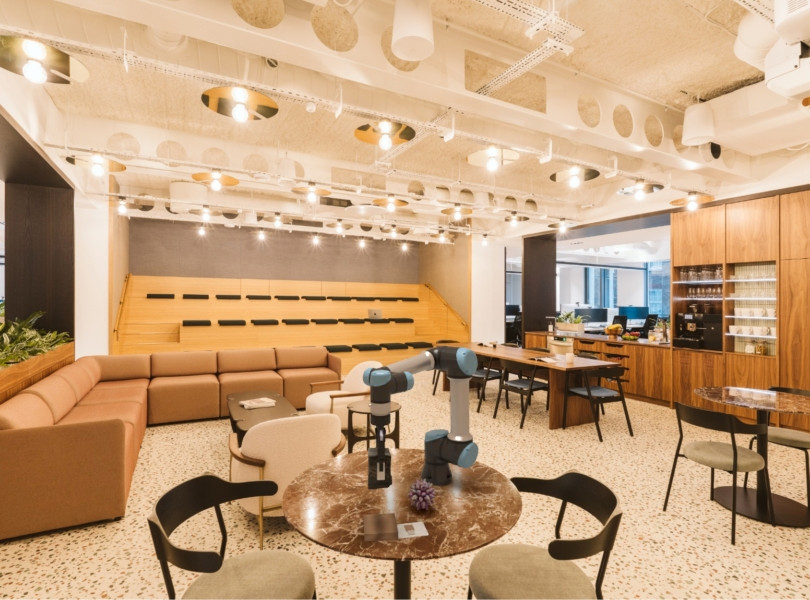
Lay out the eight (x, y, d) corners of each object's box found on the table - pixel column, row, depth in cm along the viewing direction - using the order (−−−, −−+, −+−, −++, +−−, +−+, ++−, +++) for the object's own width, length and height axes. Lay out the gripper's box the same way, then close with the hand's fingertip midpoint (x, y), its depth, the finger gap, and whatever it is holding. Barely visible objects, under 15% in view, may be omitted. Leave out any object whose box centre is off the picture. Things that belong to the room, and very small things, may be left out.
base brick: (394, 520, 159) (394, 512, 159) (398, 540, 146) (398, 532, 146) (363, 522, 158) (363, 514, 157) (364, 542, 145) (364, 534, 145)
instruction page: (422, 522, 158) (422, 521, 158) (428, 535, 149) (428, 534, 149) (391, 525, 155) (391, 524, 155) (396, 539, 147) (396, 538, 147)
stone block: (392, 489, 151) (391, 480, 156) (393, 454, 148) (392, 446, 153) (367, 490, 151) (367, 481, 156) (368, 455, 147) (368, 447, 152)
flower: (439, 515, 163) (439, 485, 163) (409, 517, 161) (410, 487, 161) (432, 500, 175) (432, 472, 175) (405, 503, 173) (405, 474, 173)
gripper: (369, 406, 161) (369, 464, 161) (371, 421, 141) (371, 487, 142) (388, 405, 162) (388, 464, 162) (393, 420, 142) (392, 486, 142)
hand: (380, 475), depth 152 cm, fingers closed on stone block, 6 cm apart
